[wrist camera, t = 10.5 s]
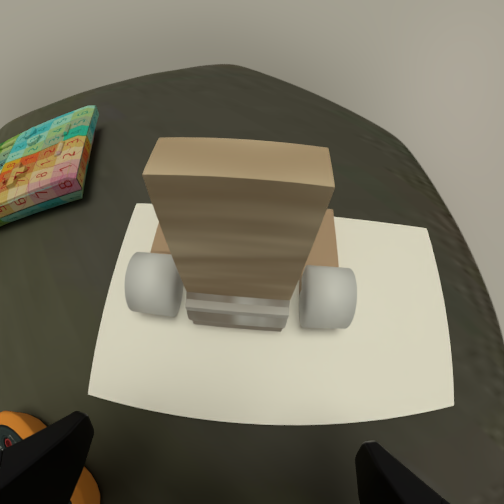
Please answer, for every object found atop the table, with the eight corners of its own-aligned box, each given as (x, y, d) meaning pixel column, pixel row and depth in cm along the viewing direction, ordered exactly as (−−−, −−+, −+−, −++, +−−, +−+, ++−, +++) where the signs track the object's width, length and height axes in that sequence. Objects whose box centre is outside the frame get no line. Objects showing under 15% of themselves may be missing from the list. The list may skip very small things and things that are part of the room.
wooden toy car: (280, 334, 16) (338, 214, 7) (193, 327, 16) (131, 200, 7) (282, 281, 18) (325, 130, 8) (201, 274, 18) (167, 121, 8)
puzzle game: (72, 169, 18) (-66, 231, 15) (93, 207, 22) (-43, 254, 19) (93, 98, 24) (-33, 157, 20) (104, 131, 28) (-18, 180, 24)
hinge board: (445, 406, 14) (487, 399, 10) (95, 395, 14) (57, 387, 11) (421, 235, 21) (446, 202, 18) (139, 211, 21) (124, 171, 18)
